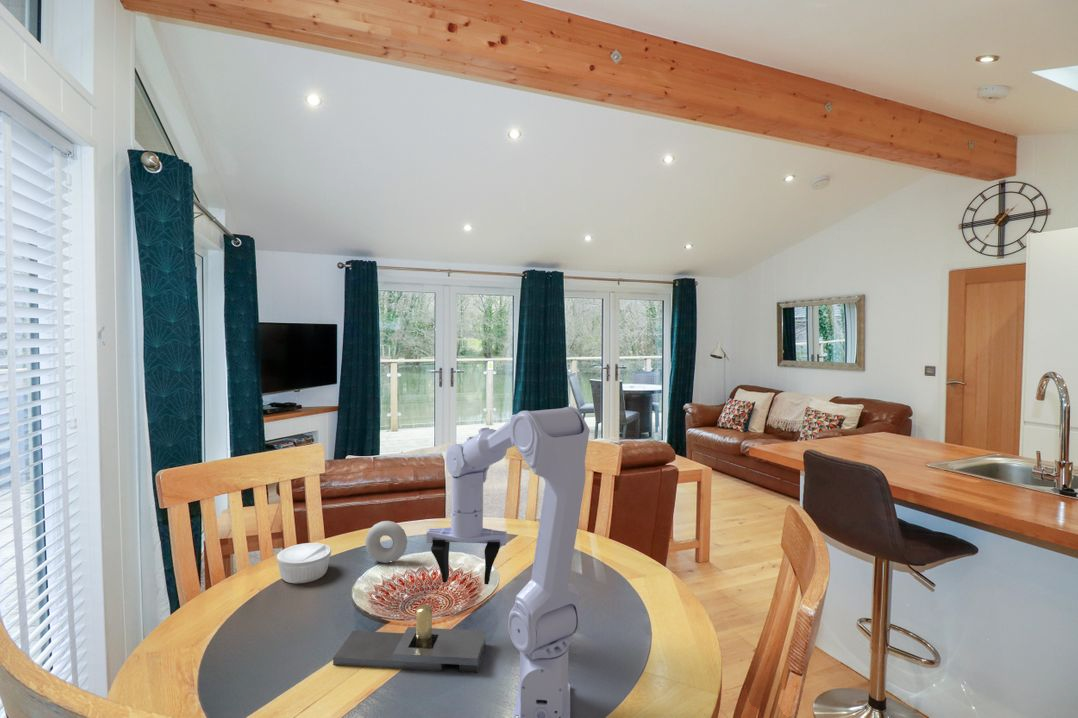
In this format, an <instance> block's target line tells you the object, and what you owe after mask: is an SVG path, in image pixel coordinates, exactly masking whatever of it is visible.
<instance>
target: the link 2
mask: <svg viewBox="0 0 1078 718" xmlns="http://www.w3.org/2000/svg"><path fill="white" fill-rule="evenodd" d="M486 632H487V631H486V630H477V629H476V630H474V629H473V630H472V629H455V628H438V627H437V628H436V627H435V628H434V627H432V641H436V642H435V645H434V647H433V648H432V649H425V648H416V647H415V648H411V647H412V645H413V643H414V641H415V640H416V626H415V627H414V626H408V627H407V628H406V630H405V631H404V632H403V633H404V635H403V637H402V638H401V640H400V642H399V644H398V645H397V647H396V649H395V651H394V652H393V661H403V662H421V663H439V664H443V665H459V666H458V668H459V669H458V672H459V673H470V674H471V673H474V674H475V673H476V674H478V672H479V669H480V664H481V661H482V659H483V654H484V650H485V648H486V635H487V634H486Z"/></svg>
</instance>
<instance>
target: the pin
mask: <svg viewBox="0 0 1078 718" xmlns="http://www.w3.org/2000/svg"><path fill="white" fill-rule="evenodd" d="M415 614H416V615H415V616H416V618H415V620H416V621H415V622H416V626H415V627H416V647H415V648H425V649H433V648H432V628H433V607H432V605H430V604H422V605H419V606H417V607H416V612H415Z"/></svg>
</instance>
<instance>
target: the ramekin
mask: <svg viewBox="0 0 1078 718" xmlns="http://www.w3.org/2000/svg"><path fill="white" fill-rule="evenodd" d="M331 555H332V549H331V547H330V545H328V544H326V543H325V544H324V543H321V542H306V543H299V544H294V545H290V546H288V547H286V548H283V549H281V550H280V551H279V552H278V553H277V555H276V562H277V563H278V570H279V575H280V578H281V579H282V580H283V581H284V582H286V583H288V584H306V583H310V582H315V581H317V580H318V579H320V578H322V577H324V575H325V574H326V573H327V572H328V571H327V570H328V567H329V562H330V558H331Z"/></svg>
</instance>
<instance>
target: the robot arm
mask: <svg viewBox="0 0 1078 718" xmlns="http://www.w3.org/2000/svg"><path fill="white" fill-rule="evenodd" d="M589 437H590V428H589V426H588V423H587V422H586V420H585V418H584V417H583V415H582V413H581V411H580V410H579V409H577V408H576V407H574V406H566V407H562V408H552V409H551V408H550V409H541V410H531V411H530V410H520V411H519V412H518V413H516V414H512V415H511V416H510V420H509V421H508V422H506V423H505V424H503V425H502V426H501V427H499V428H498V429H493V428H489V427H482V428H480V429H478V434H476V435H474V436H469V437H467V438H466V441H464V443H451V444H450V445H449V447H447V450H446V453H445V464H446V469H447V470H448V473H449V475H451V506H450V507H451V514H450V515H451V519H450V520H451V521H450V524H451V526H449V527H439V528H428V530H427V531H426V543H428V544H432V545H431V547H430V550H431V551H430V552H431V554H432V555H433V556H434V558H435V561H436V563H437V565H438V568H439V571H440V574H441V580H442V583H443V584H444V583H445V584H446V583H448V580H449V576H450V564H449V559H450V558H449V557H450V555H449V554H450V543H462V544H463V543H467V544H486V546H485V548H484V562H485V563H484V578H483V581H484V585H489V583H490V578H491V574H492V573H491V572H492V567H493V566H494V562H495V560H496V558H497V556H498V554H499V551H500V549H501V546H506V545H507V542H508V531H507V530H506V531H505V530H504V531H503V530H497V529H491V528H485V527H484V518H483V517H484V484H485V482H486V481H487V473H488V471H489V469H490V466H492V465H494V464H496V463H498V462H500V461H502V460H503V459H504V458H505V456H506V454H507V453H508V449H511V448H512V447H515V448H516V449H517V451H518V453H519V454H520V455H521V457H522V458H523V460H524V461H525V463H526V464H527V465H528V467H529V468H530V469H531V470H532V471H531V472H533V474H534V475H536V476H539V477H541V478H543V480H544V491H543V496H542V504H541V509H540V510H541V511H540V515H539V517H540V518H539V522H538V523H539V524H538V530H537V535H536V544H535V549H534V550H535V552H534V558H533V565H532V570H531V571H532V572H531V577H530V580H529V581H528V583H526V584H525V586H523V588H522V589H520V591H519V592H518V593H517V594H516V596H515V601H514V605H513V607H512V609H510V612H509V614H508V620H507V621H508V622H507V629H508V633H509V637H510V640H511V641H512V644H513V645H514V647H515V648H516V649H517V650H518V651H519V681H518V684H517V685H518V686H517V693H516V698H515V699H516V700H515V705H514V706H515V707H514V712H513V718H516V716H519V717H518V718H571V683H569V646H570V644H572V643H573V639H574V638H573V637H574V635H575V634H577V633H578V631H579V630H580V627H581V623H582V622H581V621H582V620H581V609H580V601H581V600H580V599H581V595H580V593H579V592H578V590H577V588H576V587H575V586H574V585H573V584H572V583H570V575H571V570H572V569H571V568H572V563H573V557H574V551H575V546H576V538H577V534H578V526H579V521H580V520H579V519H580V515H581V509H582V504H583V503H582V502H583V496H584V490H585V484H586V476H587V475H586V474H587V473H586V456H587V451H588V450H587V448H588V442H589Z"/></svg>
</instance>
